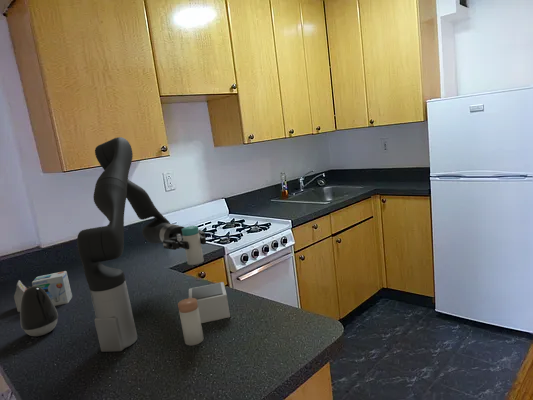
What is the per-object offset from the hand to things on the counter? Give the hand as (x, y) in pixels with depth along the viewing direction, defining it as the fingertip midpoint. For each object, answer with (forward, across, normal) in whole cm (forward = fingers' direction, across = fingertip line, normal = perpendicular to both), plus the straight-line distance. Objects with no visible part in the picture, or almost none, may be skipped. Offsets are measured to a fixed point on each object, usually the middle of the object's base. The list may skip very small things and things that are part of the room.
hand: (196, 243), depth 118 cm
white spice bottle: (+14, -11, +22) cm, 28 cm away
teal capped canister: (-3, 0, +6) cm, 7 cm away
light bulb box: (-56, -36, +22) cm, 70 cm away
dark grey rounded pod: (-31, -43, +22) cm, 57 cm away
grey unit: (+3, 0, +22) cm, 22 cm away
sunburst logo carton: (-62, -46, +22) cm, 80 cm away
